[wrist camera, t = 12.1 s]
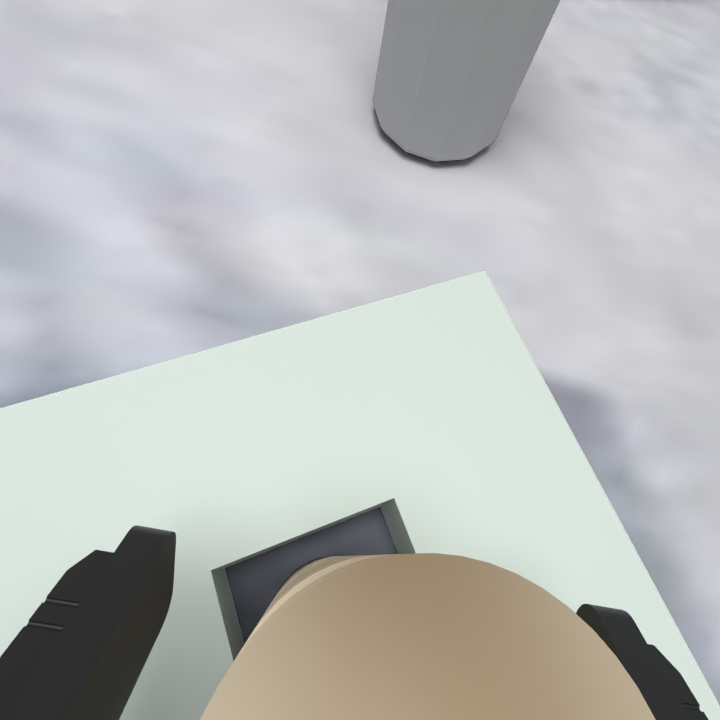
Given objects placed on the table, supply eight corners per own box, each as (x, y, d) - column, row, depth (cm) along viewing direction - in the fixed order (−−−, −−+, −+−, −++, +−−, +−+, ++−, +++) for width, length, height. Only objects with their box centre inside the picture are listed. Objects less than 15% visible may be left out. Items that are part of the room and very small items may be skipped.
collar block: (75, 1253, 11) (1, 1482, 8) (-15, 449, 18) (-74, 429, 15) (717, 811, 16) (805, 865, 13) (462, 305, 22) (484, 270, 20)
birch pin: (291, 724, 15) (249, 1550, 3) (252, 584, 17) (101, 672, 4) (413, 664, 16) (815, 1042, 4) (367, 537, 18) (540, 487, 5)
